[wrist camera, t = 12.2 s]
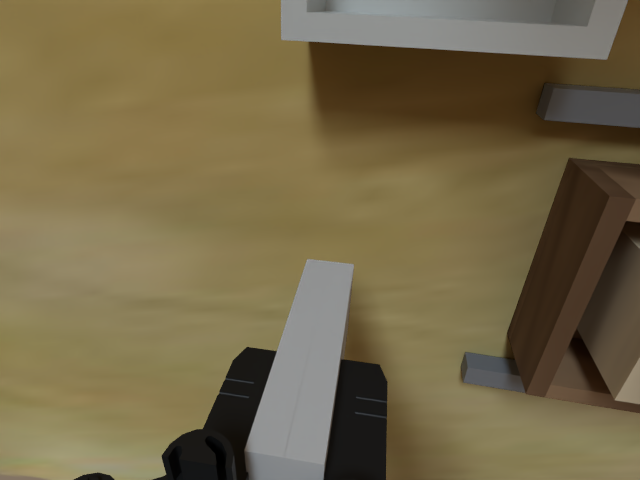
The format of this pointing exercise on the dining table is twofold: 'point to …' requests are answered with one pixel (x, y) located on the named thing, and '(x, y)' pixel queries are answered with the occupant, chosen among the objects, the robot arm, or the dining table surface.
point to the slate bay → (565, 107)
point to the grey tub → (460, 24)
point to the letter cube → (617, 318)
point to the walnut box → (572, 282)
